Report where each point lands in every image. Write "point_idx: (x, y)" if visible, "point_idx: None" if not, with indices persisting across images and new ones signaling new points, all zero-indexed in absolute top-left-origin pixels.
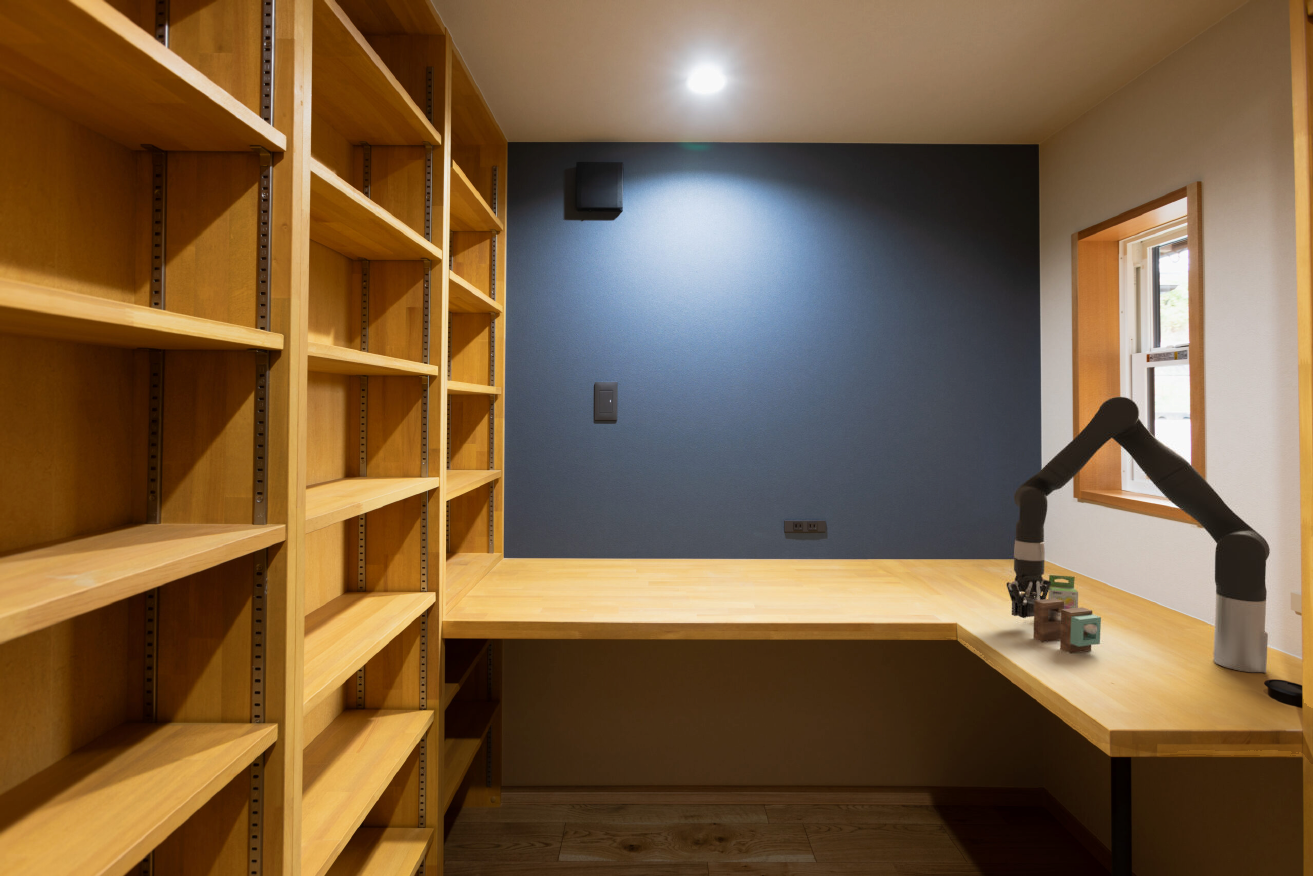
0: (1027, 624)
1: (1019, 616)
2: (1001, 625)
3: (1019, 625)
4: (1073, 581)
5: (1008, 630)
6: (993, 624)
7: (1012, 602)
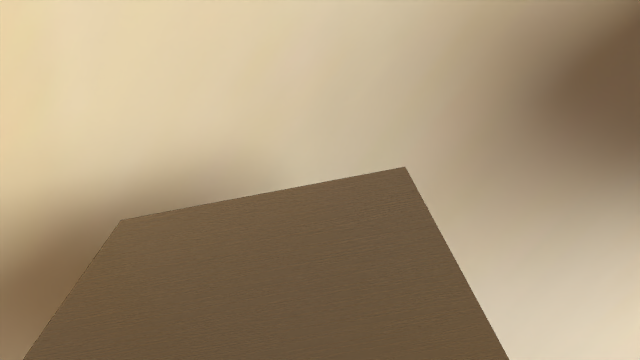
0: (423, 44)
1: None
2: (111, 49)
3: (313, 68)
4: None
5: (111, 200)
6: (32, 6)
7: (46, 345)
